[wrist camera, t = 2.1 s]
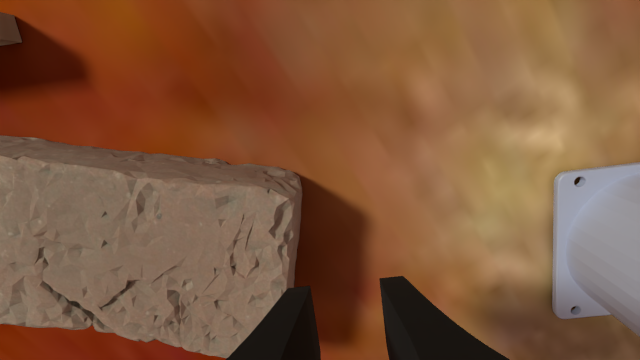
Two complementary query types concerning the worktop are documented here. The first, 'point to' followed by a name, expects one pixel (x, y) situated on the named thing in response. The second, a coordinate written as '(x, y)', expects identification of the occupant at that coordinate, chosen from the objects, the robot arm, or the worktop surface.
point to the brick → (143, 243)
